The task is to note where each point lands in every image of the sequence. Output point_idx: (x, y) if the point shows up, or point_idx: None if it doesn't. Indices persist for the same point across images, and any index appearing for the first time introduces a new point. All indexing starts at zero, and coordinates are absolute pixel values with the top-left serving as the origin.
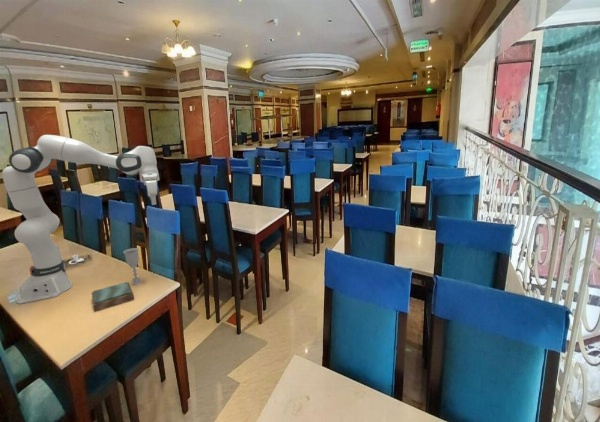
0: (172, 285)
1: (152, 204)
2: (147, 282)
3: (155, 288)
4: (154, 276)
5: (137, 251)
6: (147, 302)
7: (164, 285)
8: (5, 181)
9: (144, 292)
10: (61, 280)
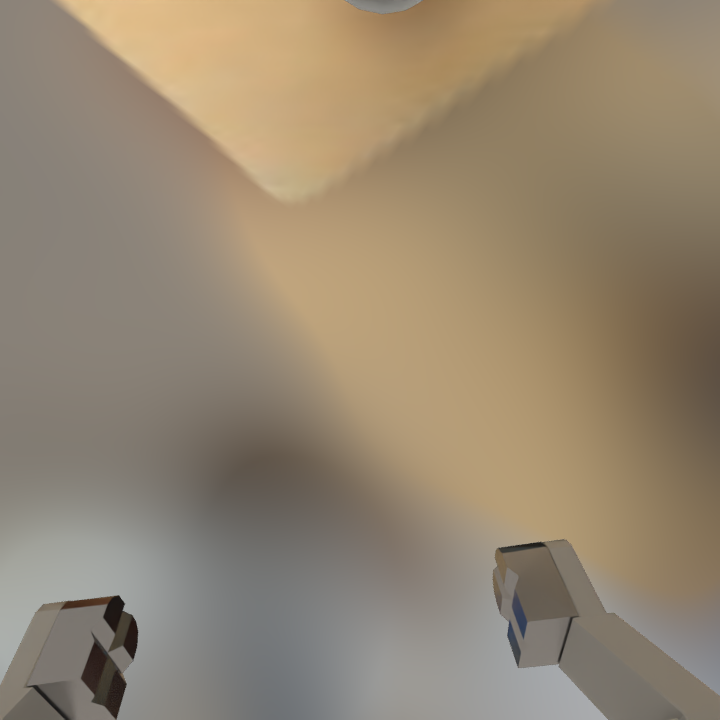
0: (273, 192)
1: (502, 558)
2: (374, 44)
3: (270, 98)
4: (444, 92)
5: (360, 1)
6: (122, 52)
7: (289, 151)
8: None
9: (242, 28)
10: None
